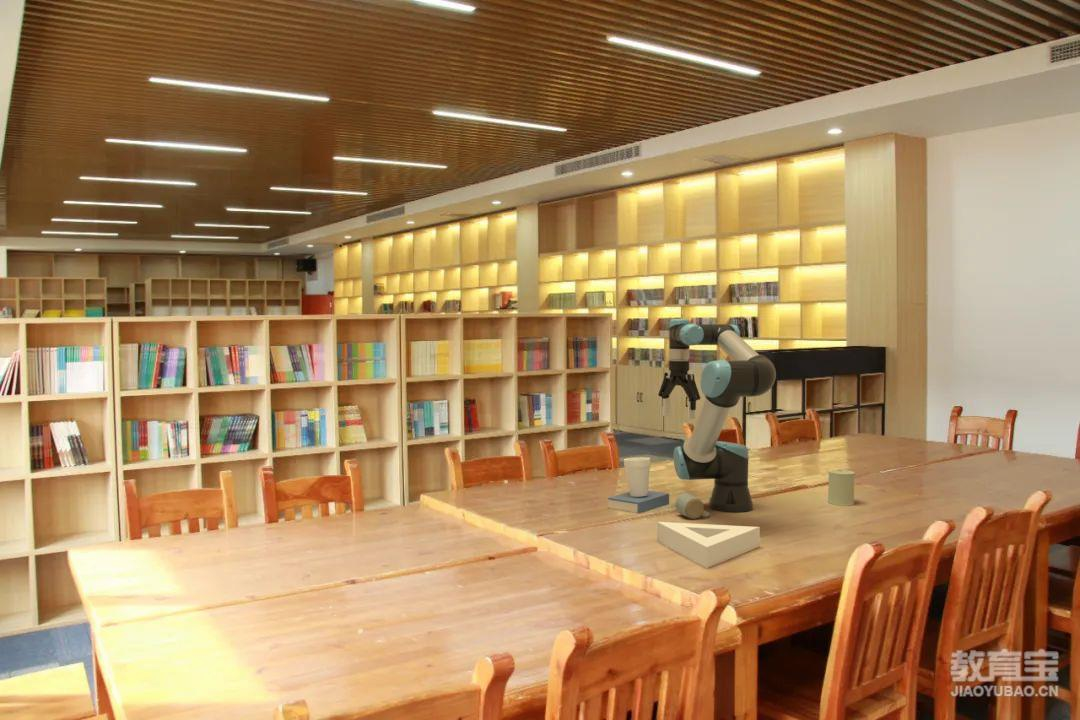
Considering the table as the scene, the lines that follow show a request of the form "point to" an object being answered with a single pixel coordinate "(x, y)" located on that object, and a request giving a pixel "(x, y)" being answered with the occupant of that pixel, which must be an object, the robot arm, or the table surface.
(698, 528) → the triangle block
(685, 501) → the ceramic mug
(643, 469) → the foam cup
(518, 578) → the table surface
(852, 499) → the can
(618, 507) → the book
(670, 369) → the robot arm
